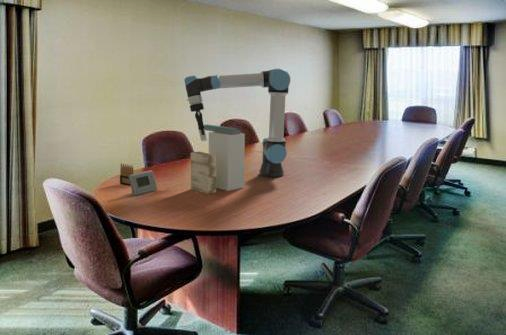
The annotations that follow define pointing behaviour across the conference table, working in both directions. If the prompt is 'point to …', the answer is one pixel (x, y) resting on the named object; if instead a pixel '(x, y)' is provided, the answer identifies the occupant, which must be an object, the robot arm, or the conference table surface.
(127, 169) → the ammunition clip
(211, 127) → the rail
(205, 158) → the beige stone block
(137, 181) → the digital clock
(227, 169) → the grey stand
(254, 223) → the conference table surface
